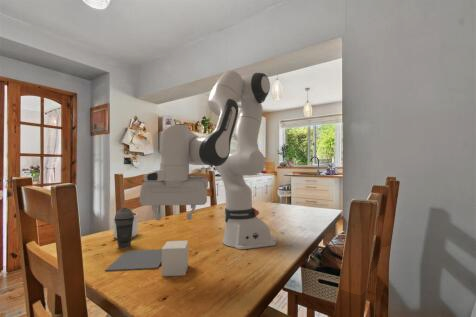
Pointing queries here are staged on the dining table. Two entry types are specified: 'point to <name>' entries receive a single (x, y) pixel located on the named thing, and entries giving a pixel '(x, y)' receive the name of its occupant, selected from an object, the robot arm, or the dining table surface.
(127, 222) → the beverage cup
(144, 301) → the dining table surface
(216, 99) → the robot arm
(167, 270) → the white upright block
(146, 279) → the dining table surface
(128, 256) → the mat
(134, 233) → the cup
